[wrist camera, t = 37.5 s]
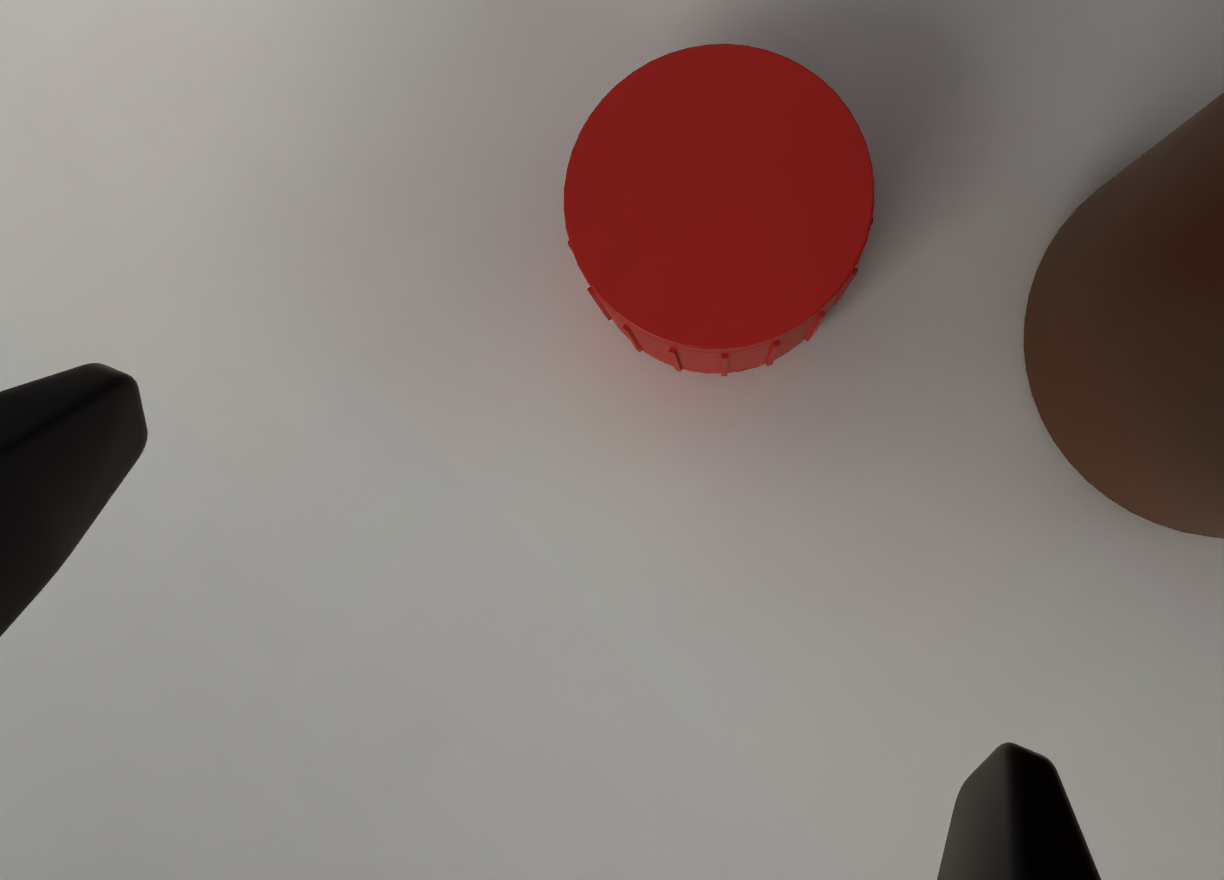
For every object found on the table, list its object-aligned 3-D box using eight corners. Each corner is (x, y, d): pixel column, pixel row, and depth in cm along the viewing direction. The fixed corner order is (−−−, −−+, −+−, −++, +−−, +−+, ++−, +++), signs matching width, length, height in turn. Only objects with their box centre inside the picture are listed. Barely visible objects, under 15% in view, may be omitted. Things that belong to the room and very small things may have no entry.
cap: (596, 385, 16) (568, 363, 13) (584, 132, 16) (553, 54, 13) (855, 369, 15) (887, 343, 13) (839, 108, 16) (867, 23, 13)
